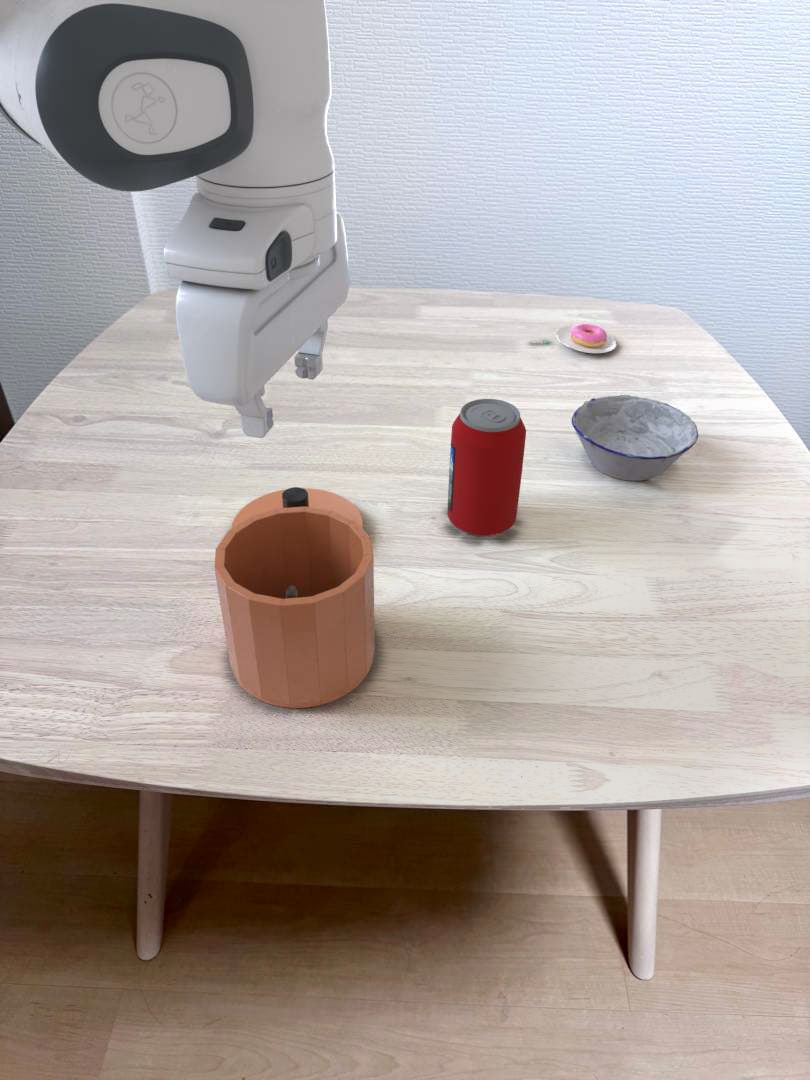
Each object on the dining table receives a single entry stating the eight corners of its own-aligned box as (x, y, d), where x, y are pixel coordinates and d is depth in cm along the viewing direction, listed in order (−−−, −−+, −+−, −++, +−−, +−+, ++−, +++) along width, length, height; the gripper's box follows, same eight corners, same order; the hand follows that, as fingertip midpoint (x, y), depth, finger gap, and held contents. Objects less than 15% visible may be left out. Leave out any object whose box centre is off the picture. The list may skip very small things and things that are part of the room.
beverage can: (478, 493, 87) (486, 387, 79) (530, 521, 83) (543, 413, 75) (432, 520, 83) (436, 411, 75) (484, 551, 79) (494, 440, 72)
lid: (230, 581, 75) (224, 539, 72) (234, 501, 85) (228, 462, 82) (369, 571, 77) (368, 529, 74) (357, 493, 86) (356, 454, 83)
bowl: (549, 472, 90) (555, 433, 87) (589, 420, 99) (595, 383, 96) (670, 508, 85) (681, 467, 82) (701, 450, 94) (711, 411, 91)
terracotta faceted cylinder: (229, 715, 63) (211, 611, 57) (233, 612, 72) (217, 512, 66) (381, 700, 64) (380, 597, 58) (366, 601, 73) (364, 502, 67)
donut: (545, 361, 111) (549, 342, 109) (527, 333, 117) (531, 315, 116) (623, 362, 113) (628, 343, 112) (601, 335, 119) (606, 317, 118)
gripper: (289, 171, 64) (300, 341, 73) (146, 260, 49) (182, 463, 57) (367, 179, 63) (370, 351, 71) (245, 273, 48) (267, 479, 56)
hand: (285, 402), depth 64 cm, fingers open, 8 cm apart
